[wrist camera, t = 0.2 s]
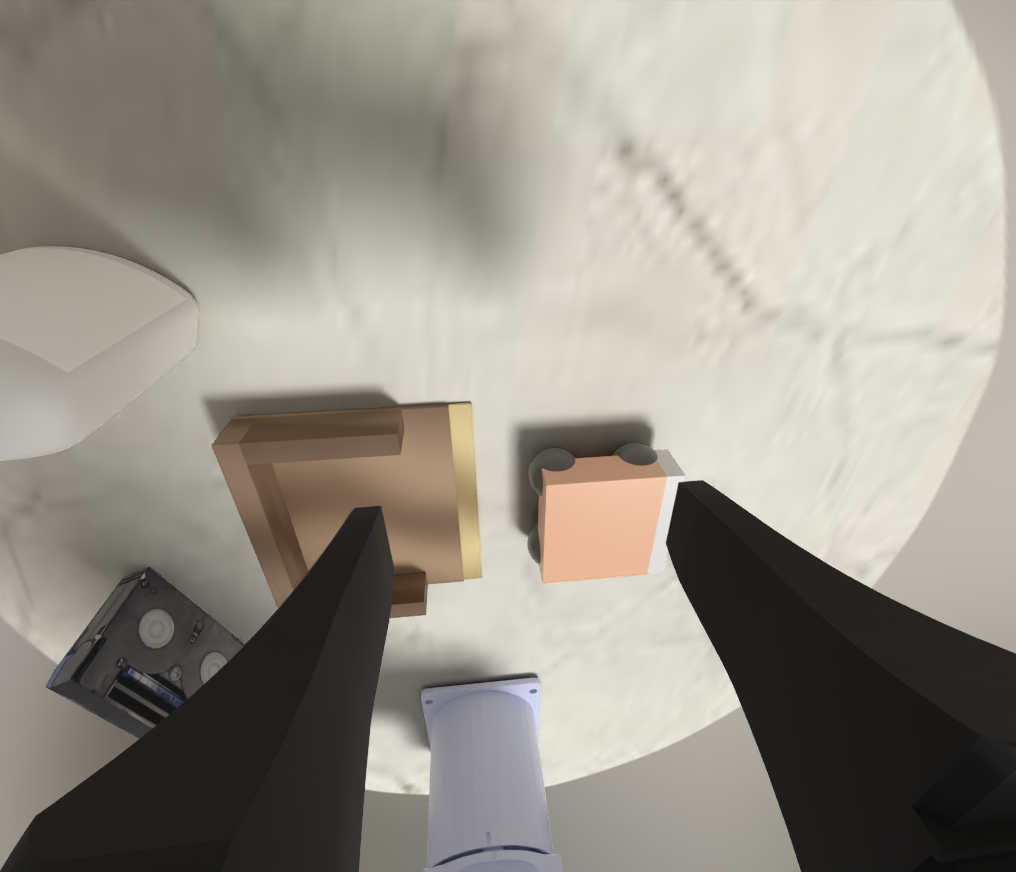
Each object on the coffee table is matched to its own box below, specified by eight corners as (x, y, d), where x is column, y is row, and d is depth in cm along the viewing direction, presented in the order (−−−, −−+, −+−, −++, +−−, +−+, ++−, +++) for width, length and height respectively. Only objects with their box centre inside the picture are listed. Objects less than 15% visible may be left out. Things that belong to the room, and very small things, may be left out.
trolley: (641, 536, 26) (661, 578, 24) (524, 545, 26) (532, 589, 23) (661, 431, 23) (687, 467, 20) (525, 439, 22) (534, 478, 20)
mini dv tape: (125, 575, 24) (38, 690, 19) (149, 565, 24) (69, 679, 19) (233, 659, 29) (186, 771, 24) (255, 651, 28) (212, 762, 23)
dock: (481, 576, 27) (483, 609, 25) (298, 591, 26) (286, 627, 24) (471, 402, 21) (473, 429, 19) (234, 416, 20) (211, 445, 18)
